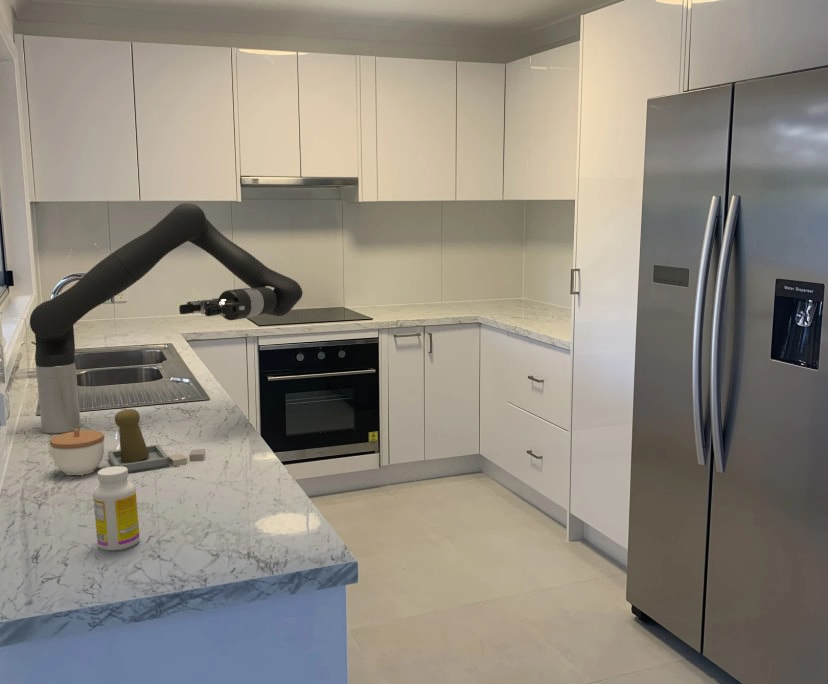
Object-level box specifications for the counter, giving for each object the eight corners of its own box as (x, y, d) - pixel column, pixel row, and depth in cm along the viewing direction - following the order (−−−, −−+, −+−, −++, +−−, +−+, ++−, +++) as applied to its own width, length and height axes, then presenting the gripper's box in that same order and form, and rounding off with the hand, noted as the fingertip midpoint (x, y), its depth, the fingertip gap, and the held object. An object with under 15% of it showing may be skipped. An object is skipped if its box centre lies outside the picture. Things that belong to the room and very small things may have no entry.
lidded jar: (49, 482, 167) (44, 438, 165) (57, 466, 177) (53, 425, 175) (104, 476, 169) (100, 433, 168) (108, 461, 180) (105, 421, 178)
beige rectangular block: (191, 457, 183) (191, 449, 183) (205, 456, 183) (205, 449, 183) (189, 462, 179) (189, 454, 179) (203, 461, 180) (203, 454, 179)
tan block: (168, 463, 179) (167, 455, 178) (181, 461, 180) (181, 453, 180) (173, 468, 175) (173, 460, 175) (187, 465, 177) (186, 457, 177)
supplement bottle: (144, 535, 138) (139, 463, 136) (132, 551, 131) (127, 476, 129) (105, 536, 138) (99, 464, 136) (91, 552, 131) (85, 477, 129)
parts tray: (108, 460, 181) (107, 451, 180) (158, 452, 186) (158, 444, 185) (117, 475, 170) (116, 466, 170) (170, 466, 175) (169, 457, 175)
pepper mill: (134, 451, 183) (124, 405, 181) (154, 452, 181) (145, 406, 178) (115, 461, 178) (105, 415, 175) (136, 463, 175) (126, 415, 173)
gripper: (220, 287, 206) (171, 293, 192) (262, 289, 198) (214, 296, 185) (221, 316, 207) (172, 324, 193) (263, 320, 200) (215, 328, 186)
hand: (193, 310), depth 189 cm, fingers open, 8 cm apart
